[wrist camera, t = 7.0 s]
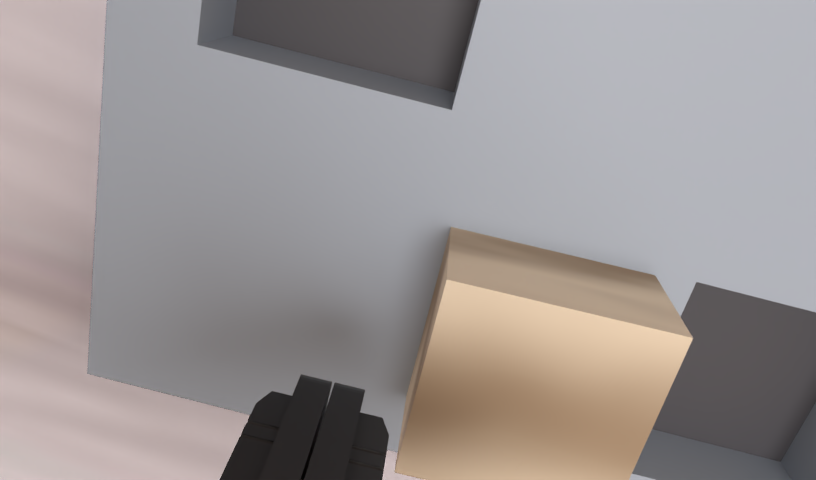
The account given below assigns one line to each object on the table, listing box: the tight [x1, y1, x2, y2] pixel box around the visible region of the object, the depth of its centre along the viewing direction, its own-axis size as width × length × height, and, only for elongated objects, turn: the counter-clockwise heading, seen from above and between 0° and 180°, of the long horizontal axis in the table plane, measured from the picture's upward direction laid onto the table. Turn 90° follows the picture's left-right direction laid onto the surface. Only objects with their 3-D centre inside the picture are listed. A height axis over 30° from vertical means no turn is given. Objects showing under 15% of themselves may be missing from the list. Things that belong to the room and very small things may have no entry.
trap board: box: [87, 0, 816, 480], centre depth 19 cm, size 20×32×4 cm, turn 76°
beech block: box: [395, 227, 693, 480], centre depth 18 cm, size 6×6×4 cm
